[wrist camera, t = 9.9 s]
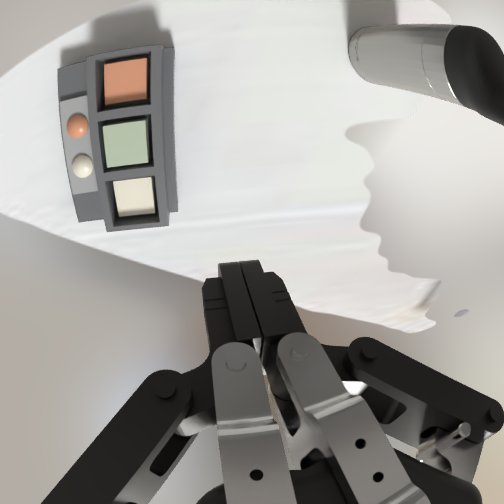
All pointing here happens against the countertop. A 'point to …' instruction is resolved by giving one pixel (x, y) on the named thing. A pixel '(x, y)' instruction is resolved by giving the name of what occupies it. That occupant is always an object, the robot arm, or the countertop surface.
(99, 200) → the keypad
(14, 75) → the countertop surface
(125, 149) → the key sage
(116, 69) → the key terracotta
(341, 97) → the countertop surface
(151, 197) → the key cream
